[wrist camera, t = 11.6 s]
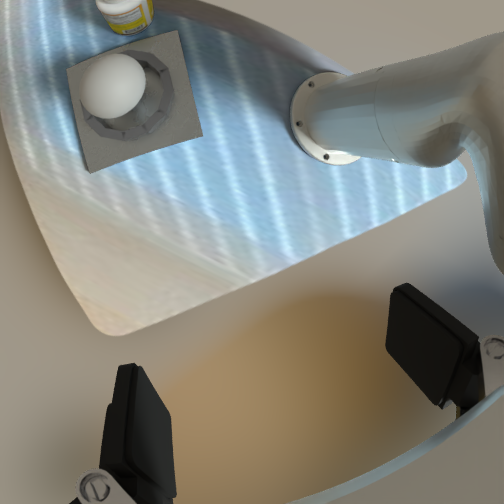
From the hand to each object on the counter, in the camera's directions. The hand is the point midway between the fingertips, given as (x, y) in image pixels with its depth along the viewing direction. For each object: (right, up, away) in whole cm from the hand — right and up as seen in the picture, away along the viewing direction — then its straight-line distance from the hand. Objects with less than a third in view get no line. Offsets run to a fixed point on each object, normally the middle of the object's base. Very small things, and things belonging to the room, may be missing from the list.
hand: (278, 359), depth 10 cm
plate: (-15, +21, +19) cm, 32 cm away
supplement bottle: (-15, +32, +15) cm, 38 cm away
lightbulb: (-15, +21, +18) cm, 32 cm away
